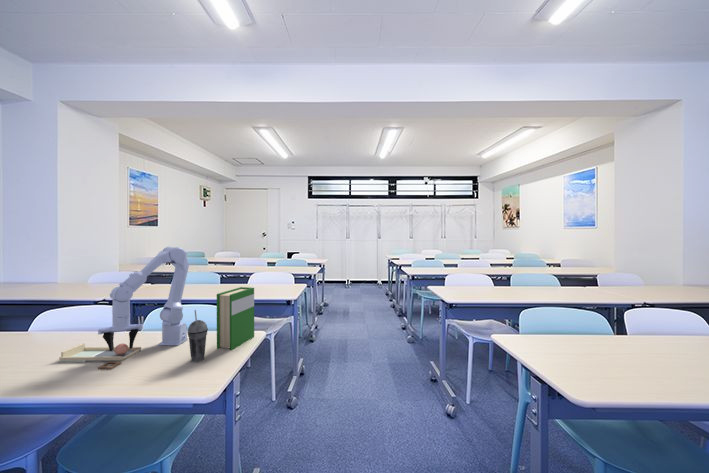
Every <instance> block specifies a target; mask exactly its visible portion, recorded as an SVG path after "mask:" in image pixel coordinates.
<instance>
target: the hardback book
mask: <svg viewBox="0 0 709 473" xmlns="http://www.w3.org/2000/svg"><path fill="white" fill-rule="evenodd" d="M253 338H255V287H243V286H239V287H236V288H233V289H229V290H226V291H223V292H218V293H216V350H219V348H220V349H222V348H226V349H229V351H233V350H235V349H236V348H238V347H240V346H242V345H243V344H245V343H247V342H249V340H251V339H253Z"/></svg>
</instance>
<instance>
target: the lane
mask: <svg viewBox="0 0 709 473" xmlns="http://www.w3.org/2000/svg"><path fill="white" fill-rule="evenodd" d="M85 345H86V344H85V343H81V344H78V345H76V346H73V347H71V348H68V349H66V350H63V351H60V352H61V353H60V356H59V358H58V360H59V361H58V362H59V363H107V362H121V361H122V362H123V361H125V360H127V359H128V358H130V357H132V356H134V355H136V354H138V353H140V352H142V346H133V347H132V349H130V348H129V346H128V351H127V352H126V353H125V354H123V355H117V354H116V353H115V347H116V346H114V349H113V351H110V350H109V346H85Z"/></svg>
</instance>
